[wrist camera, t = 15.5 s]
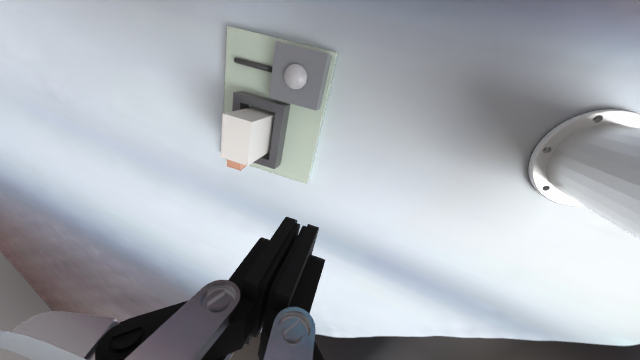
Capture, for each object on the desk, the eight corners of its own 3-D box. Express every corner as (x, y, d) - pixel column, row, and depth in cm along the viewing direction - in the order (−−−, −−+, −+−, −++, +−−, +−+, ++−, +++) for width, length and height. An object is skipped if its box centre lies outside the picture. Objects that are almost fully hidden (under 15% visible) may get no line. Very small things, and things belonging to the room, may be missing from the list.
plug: (277, 113, 35) (251, 122, 28) (271, 155, 39) (246, 172, 31) (253, 106, 36) (222, 113, 29) (249, 148, 39) (220, 163, 32)
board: (338, 53, 32) (332, 49, 28) (308, 180, 40) (301, 191, 36) (233, 27, 34) (212, 20, 29) (226, 154, 42) (210, 162, 38)
